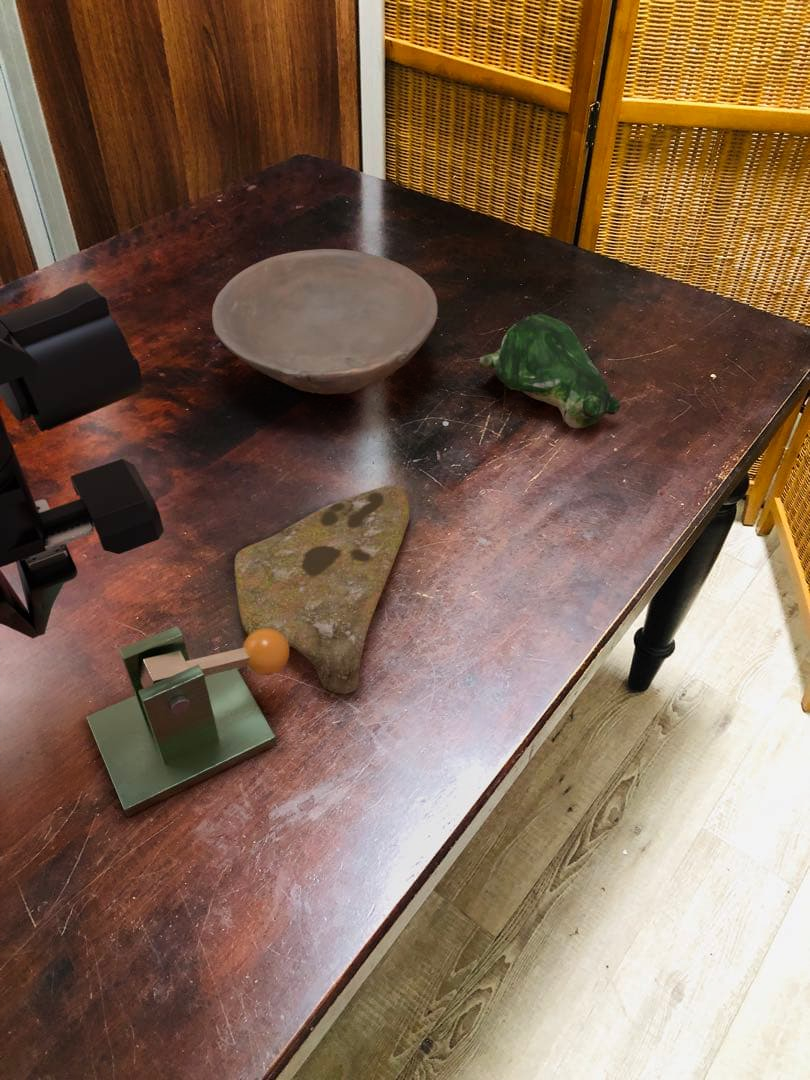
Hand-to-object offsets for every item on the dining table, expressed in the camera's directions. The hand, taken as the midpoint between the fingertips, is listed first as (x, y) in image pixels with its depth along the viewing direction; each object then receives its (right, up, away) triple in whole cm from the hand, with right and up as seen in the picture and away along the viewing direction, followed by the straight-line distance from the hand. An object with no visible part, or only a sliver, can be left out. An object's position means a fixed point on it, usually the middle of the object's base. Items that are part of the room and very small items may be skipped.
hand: (36, 631), depth 59 cm
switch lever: (+11, -4, +7) cm, 14 cm away
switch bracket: (+7, -9, +10) cm, 15 cm away
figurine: (+41, +22, +40) cm, 62 cm away
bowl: (+16, +26, +44) cm, 53 cm away
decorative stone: (+17, +3, +22) cm, 27 cm away
